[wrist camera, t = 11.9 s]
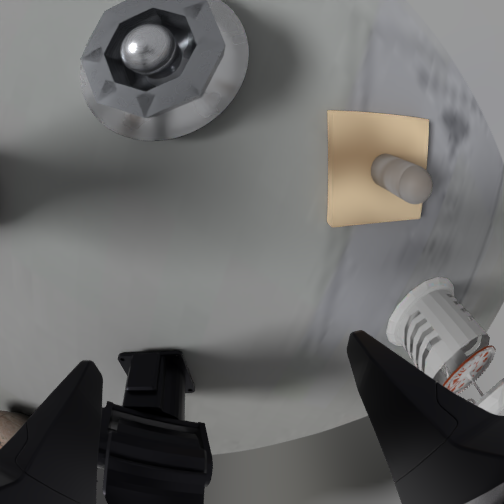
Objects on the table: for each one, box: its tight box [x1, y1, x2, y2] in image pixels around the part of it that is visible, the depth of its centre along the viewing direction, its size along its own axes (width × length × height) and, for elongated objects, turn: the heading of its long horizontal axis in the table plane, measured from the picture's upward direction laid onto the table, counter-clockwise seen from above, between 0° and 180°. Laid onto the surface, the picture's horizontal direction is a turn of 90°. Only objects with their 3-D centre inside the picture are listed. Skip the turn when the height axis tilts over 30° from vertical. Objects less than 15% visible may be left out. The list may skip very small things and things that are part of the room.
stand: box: [327, 110, 433, 227], centre depth 16 cm, size 8×8×6 cm
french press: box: [386, 277, 504, 416], centre depth 17 cm, size 10×12×25 cm
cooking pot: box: [0, 411, 30, 448], centre depth 26 cm, size 25×19×12 cm
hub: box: [80, 0, 249, 141], centre depth 11 cm, size 10×10×6 cm
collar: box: [81, 0, 226, 118], centre depth 11 cm, size 7×7×3 cm
